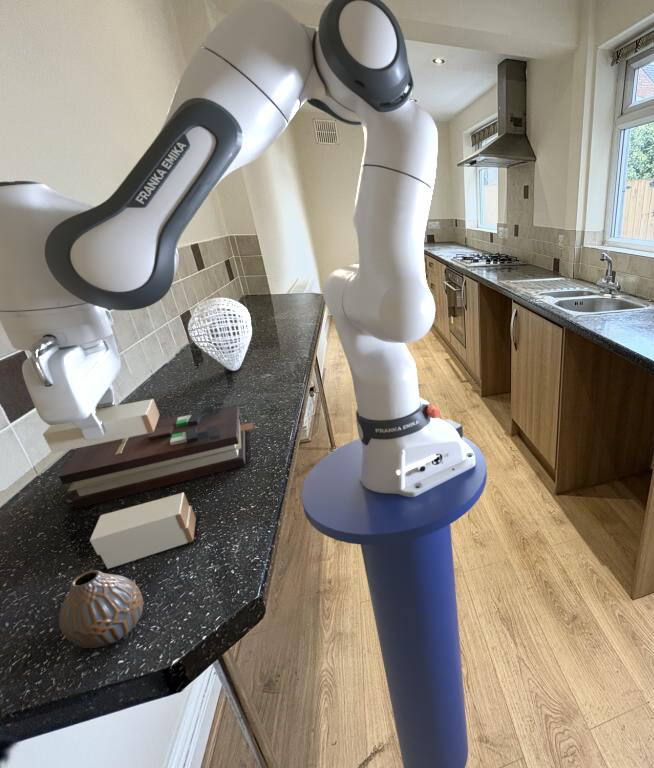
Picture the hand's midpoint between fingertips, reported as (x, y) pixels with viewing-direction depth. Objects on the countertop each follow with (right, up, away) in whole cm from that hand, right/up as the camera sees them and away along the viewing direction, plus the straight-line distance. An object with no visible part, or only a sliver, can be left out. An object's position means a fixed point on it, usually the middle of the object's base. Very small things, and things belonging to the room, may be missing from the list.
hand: (103, 425), depth 56 cm
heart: (-34, +10, +77) cm, 85 cm away
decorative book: (-13, -11, +28) cm, 33 cm away
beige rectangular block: (0, -19, +8) cm, 20 cm away
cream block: (0, -1, +1) cm, 1 cm away
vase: (+7, -25, -6) cm, 26 cm away
